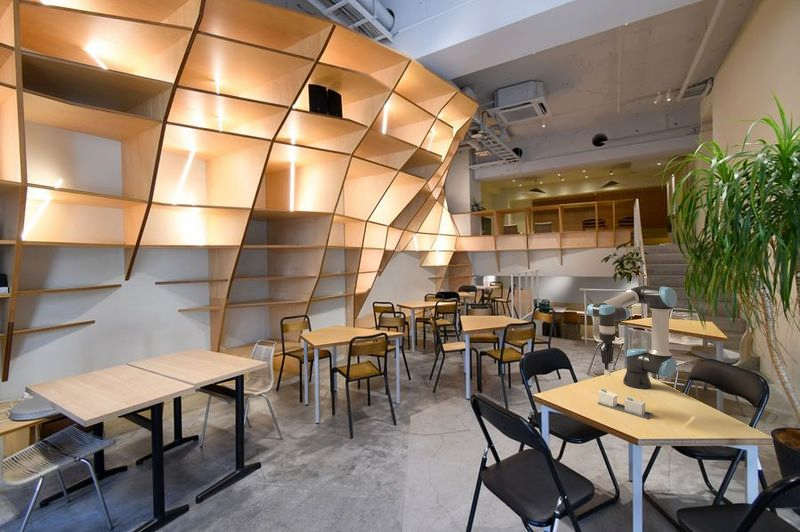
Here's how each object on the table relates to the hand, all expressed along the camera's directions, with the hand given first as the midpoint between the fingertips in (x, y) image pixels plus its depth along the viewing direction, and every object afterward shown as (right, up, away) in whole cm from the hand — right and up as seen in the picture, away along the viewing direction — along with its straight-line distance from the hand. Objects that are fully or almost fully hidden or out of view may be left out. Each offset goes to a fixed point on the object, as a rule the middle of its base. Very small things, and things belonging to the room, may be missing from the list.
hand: (607, 375), depth 205 cm
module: (0, -16, 0) cm, 16 cm away
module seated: (+8, -17, -11) cm, 22 cm away
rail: (+5, -18, -7) cm, 20 cm away
